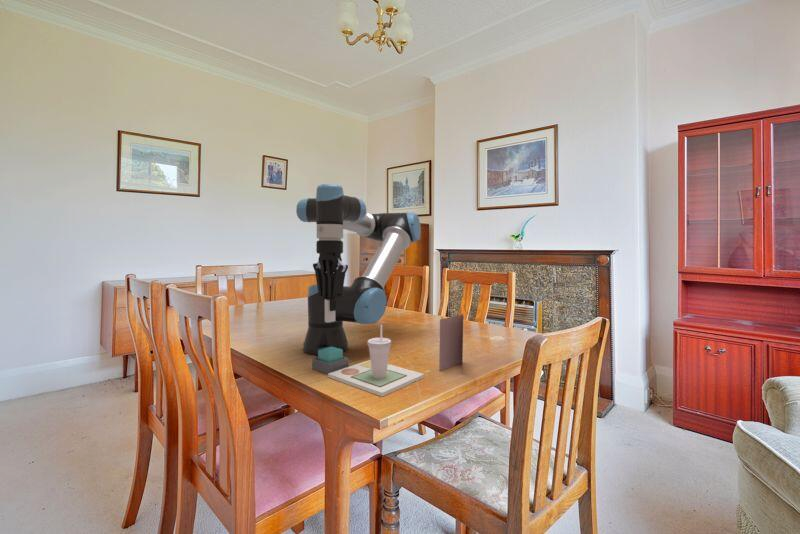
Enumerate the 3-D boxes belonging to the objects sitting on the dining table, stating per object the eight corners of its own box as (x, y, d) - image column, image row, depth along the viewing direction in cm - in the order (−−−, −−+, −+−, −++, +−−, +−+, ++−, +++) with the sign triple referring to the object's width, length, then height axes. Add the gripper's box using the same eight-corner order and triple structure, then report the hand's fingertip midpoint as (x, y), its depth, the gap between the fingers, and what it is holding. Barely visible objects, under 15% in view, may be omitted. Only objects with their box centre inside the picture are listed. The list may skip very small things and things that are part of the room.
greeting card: (460, 361, 117) (460, 313, 116) (480, 367, 111) (481, 317, 111) (436, 370, 109) (437, 319, 108) (457, 376, 103) (458, 322, 102)
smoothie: (387, 381, 96) (388, 327, 95) (364, 379, 98) (363, 326, 97) (393, 373, 102) (393, 322, 101) (371, 371, 104) (371, 321, 103)
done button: (318, 360, 109) (318, 350, 108) (331, 356, 112) (331, 346, 112) (329, 363, 105) (329, 353, 105) (342, 359, 109) (342, 349, 109)
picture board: (328, 377, 102) (328, 373, 102) (371, 362, 115) (371, 358, 115) (382, 396, 89) (382, 392, 89) (424, 377, 102) (424, 373, 102)
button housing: (312, 369, 109) (312, 358, 108) (332, 362, 114) (332, 353, 114) (328, 374, 104) (328, 364, 104) (348, 368, 109) (348, 358, 109)
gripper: (305, 239, 108) (305, 320, 109) (334, 239, 100) (334, 327, 101) (325, 240, 114) (325, 316, 115) (355, 239, 105) (355, 322, 107)
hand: (330, 321), depth 108 cm, fingers closed
